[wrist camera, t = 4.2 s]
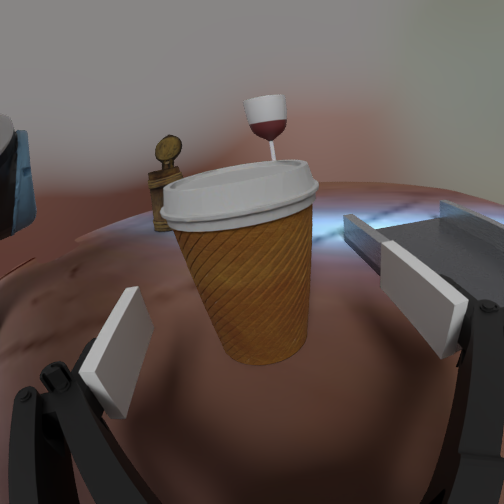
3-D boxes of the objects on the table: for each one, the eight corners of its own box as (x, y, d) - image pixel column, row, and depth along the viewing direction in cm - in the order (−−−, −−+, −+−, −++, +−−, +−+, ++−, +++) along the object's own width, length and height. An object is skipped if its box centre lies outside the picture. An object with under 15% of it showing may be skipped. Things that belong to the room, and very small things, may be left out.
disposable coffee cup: (177, 354, 21) (125, 197, 17) (250, 294, 28) (226, 164, 23) (287, 403, 15) (253, 188, 11) (348, 314, 22) (339, 155, 18)
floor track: (561, 291, 15) (569, 260, 14) (451, 353, 15) (462, 313, 14) (445, 222, 36) (445, 199, 35) (344, 241, 36) (343, 215, 35)
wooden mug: (204, 208, 66) (189, 129, 59) (192, 227, 53) (172, 128, 46) (167, 215, 66) (150, 139, 60) (148, 235, 54) (126, 141, 47)
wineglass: (277, 189, 73) (263, 101, 64) (307, 191, 66) (293, 94, 57) (250, 198, 68) (234, 103, 59) (281, 200, 61) (264, 94, 52)
